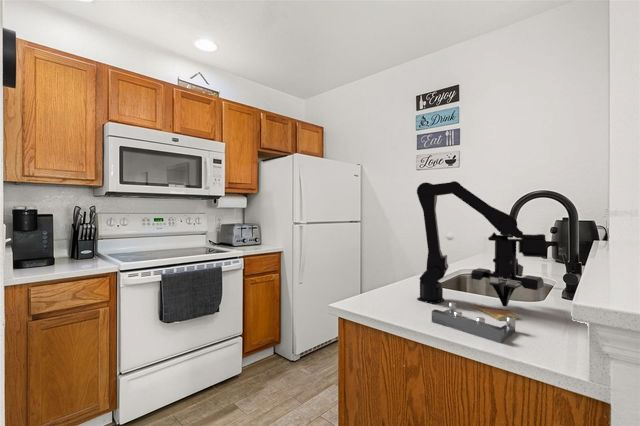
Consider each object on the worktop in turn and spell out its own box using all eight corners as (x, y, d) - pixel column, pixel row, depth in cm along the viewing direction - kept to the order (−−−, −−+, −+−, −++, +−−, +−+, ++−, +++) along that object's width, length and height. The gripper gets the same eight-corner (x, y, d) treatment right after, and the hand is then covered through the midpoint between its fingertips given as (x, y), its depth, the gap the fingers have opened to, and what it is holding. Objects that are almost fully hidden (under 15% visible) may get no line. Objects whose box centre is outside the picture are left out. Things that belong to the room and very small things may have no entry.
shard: (473, 309, 101) (473, 303, 101) (496, 308, 101) (496, 302, 101) (496, 322, 90) (496, 315, 90) (521, 320, 91) (521, 314, 91)
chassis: (431, 321, 90) (431, 309, 89) (450, 313, 96) (450, 301, 96) (500, 343, 76) (500, 328, 75) (517, 331, 82) (517, 318, 82)
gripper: (549, 256, 96) (549, 307, 97) (485, 249, 111) (485, 294, 111) (537, 260, 89) (536, 316, 90) (470, 253, 104) (470, 301, 104)
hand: (504, 305), depth 99 cm, fingers closed
